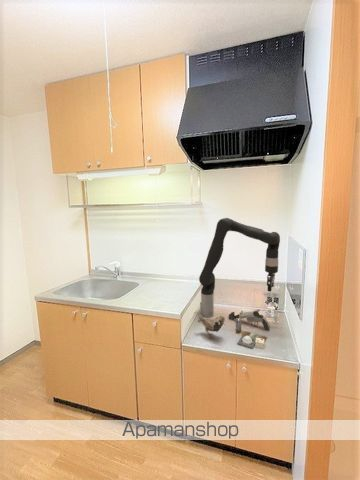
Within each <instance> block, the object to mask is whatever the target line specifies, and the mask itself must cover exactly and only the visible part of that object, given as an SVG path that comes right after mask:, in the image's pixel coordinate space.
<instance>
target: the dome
mask: <svg viewBox="0 0 360 480" xmlns="http://www.w3.org/2000/svg"><path fill="white" fill-rule="evenodd" d="M242 343H244V344H248V345H251V344H252V339H251V338H250V337H249V336H245V337H243V341H242Z"/></svg>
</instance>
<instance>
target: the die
mask: <svg viewBox="0 0 360 480" xmlns="http://www.w3.org/2000/svg"><path fill="white" fill-rule="evenodd" d="M254 347H255V348H258V349H262V350H264V348H265V342H264V339H261V338H256V342H255V346H254Z"/></svg>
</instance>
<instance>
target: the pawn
mask: <svg viewBox="0 0 360 480" xmlns="http://www.w3.org/2000/svg"><path fill="white" fill-rule="evenodd" d="M235 320H236V321H235V330H236V333H241V330H242V319H240V318H236V319H235Z"/></svg>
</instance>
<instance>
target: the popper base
mask: <svg viewBox="0 0 360 480" xmlns="http://www.w3.org/2000/svg"><path fill="white" fill-rule="evenodd" d="M243 337H245V336H242V335H241V337H240V338H239V340H238V341H237V343H236V345H238V346H240V347H244V348H247V349H250V350H253V349H254V347H255V342H256V339H253V338H251V339H252V344H251V345H248V344H244V343H243Z"/></svg>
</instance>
